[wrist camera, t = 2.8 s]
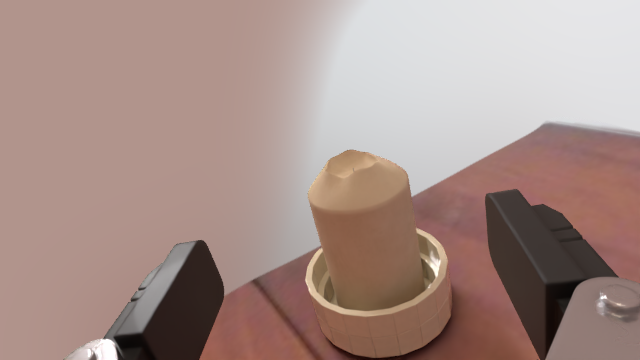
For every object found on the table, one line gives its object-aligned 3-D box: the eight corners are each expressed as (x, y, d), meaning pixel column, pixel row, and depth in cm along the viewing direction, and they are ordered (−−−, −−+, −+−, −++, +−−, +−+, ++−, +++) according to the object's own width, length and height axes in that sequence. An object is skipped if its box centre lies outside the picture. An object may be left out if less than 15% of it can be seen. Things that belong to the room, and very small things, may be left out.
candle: (446, 309, 24) (426, 155, 20) (364, 352, 22) (324, 197, 18) (396, 262, 29) (371, 131, 24) (326, 295, 27) (287, 162, 23)
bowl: (293, 329, 26) (278, 287, 24) (364, 253, 31) (356, 215, 30) (411, 388, 20) (401, 339, 19) (474, 283, 26) (470, 238, 24)
